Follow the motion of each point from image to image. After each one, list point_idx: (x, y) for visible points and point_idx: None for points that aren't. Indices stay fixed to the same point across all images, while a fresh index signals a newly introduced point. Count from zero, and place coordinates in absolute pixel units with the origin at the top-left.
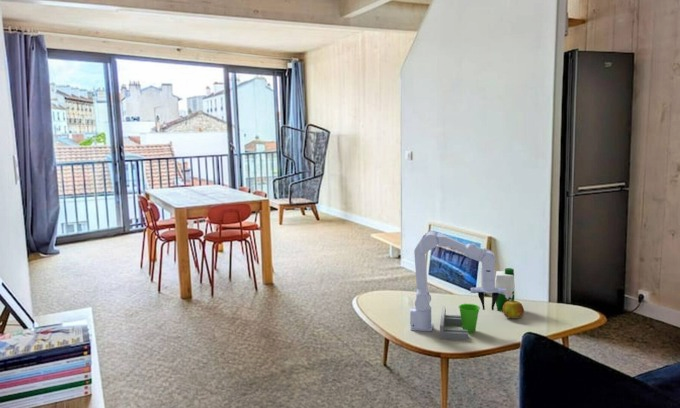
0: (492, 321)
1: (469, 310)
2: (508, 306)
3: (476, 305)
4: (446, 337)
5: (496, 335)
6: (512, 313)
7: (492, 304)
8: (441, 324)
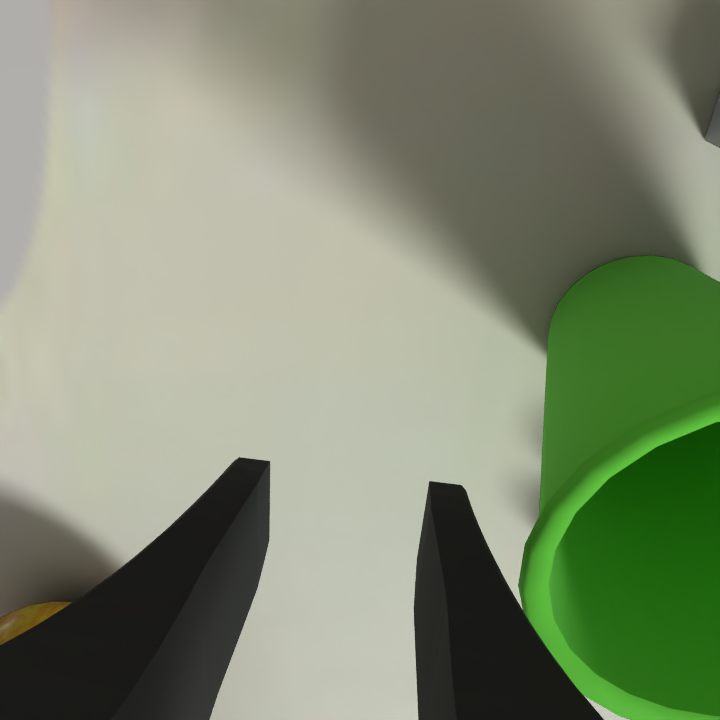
0: (297, 570)
1: None
2: None
3: (563, 665)
4: None
5: (288, 199)
6: None
7: (213, 545)
8: None
